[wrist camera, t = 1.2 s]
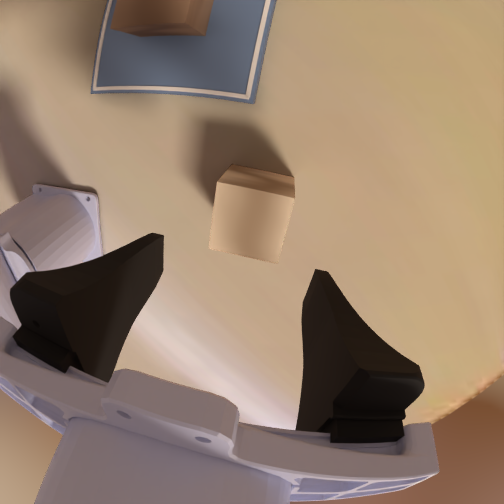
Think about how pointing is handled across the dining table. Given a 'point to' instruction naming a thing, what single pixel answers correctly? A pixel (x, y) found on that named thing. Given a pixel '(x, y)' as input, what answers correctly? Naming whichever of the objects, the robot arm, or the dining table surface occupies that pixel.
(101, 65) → the board
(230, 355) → the dining table surface
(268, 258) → the maple block
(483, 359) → the dining table surface
